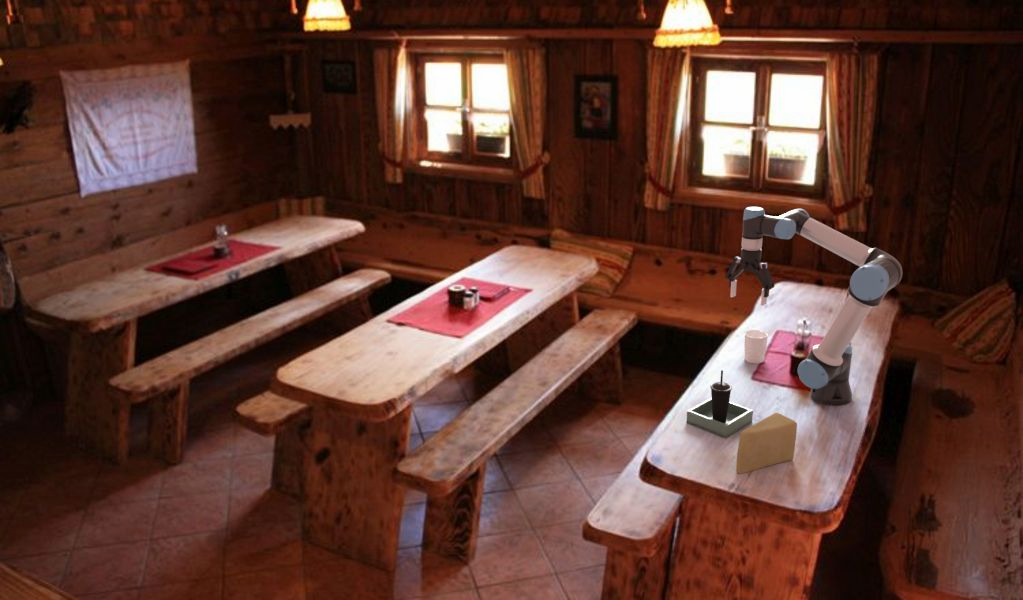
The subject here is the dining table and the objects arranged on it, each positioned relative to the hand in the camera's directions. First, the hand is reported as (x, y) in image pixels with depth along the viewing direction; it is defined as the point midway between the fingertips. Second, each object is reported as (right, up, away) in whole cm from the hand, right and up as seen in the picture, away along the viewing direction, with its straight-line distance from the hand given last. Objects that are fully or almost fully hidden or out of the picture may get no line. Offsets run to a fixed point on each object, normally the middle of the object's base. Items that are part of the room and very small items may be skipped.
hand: (748, 300), depth 342 cm
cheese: (-7, -55, -44) cm, 71 cm away
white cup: (+13, -26, +37) cm, 46 cm away
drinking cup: (-15, -44, -16) cm, 49 cm away
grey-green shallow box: (-15, -45, -15) cm, 50 cm away
